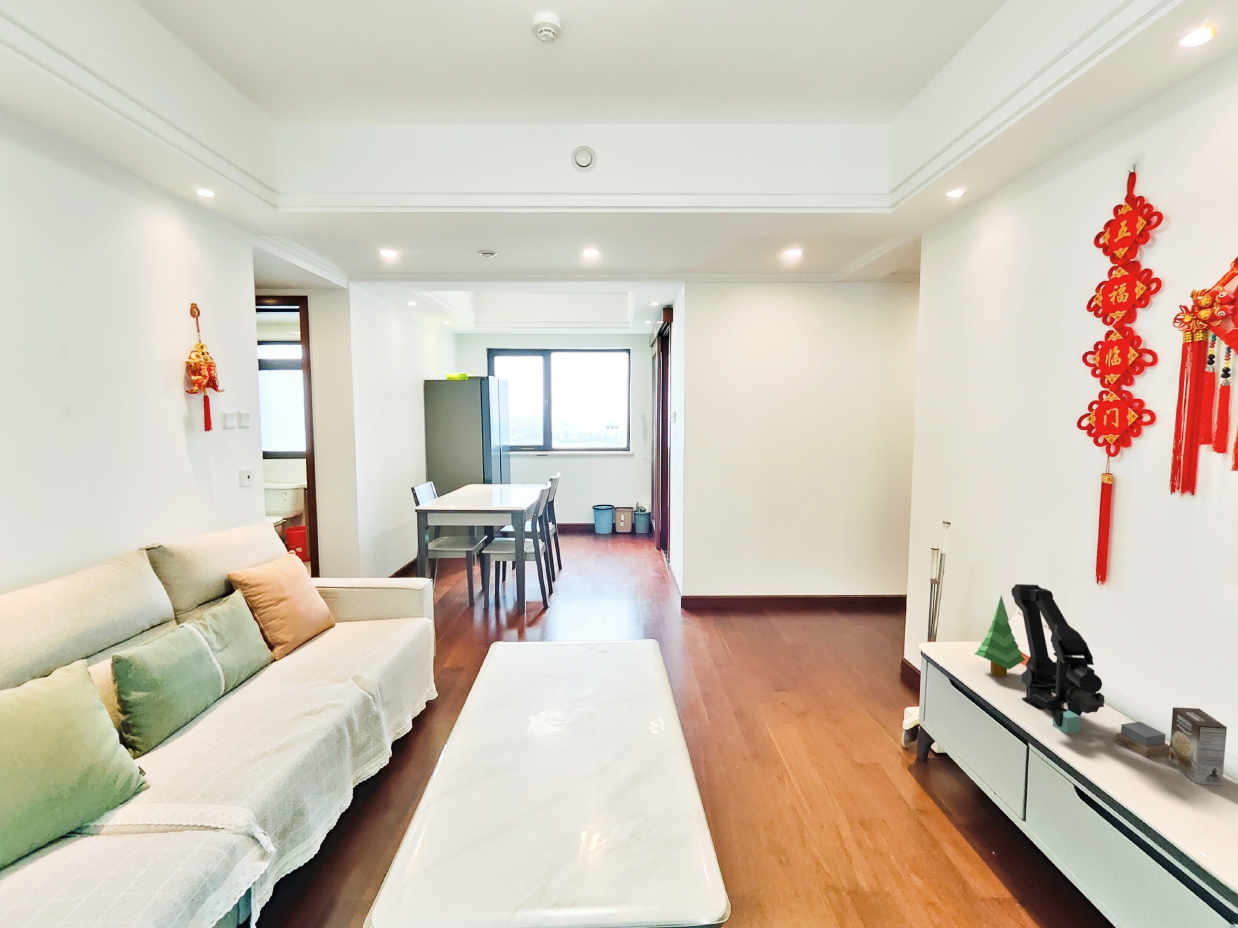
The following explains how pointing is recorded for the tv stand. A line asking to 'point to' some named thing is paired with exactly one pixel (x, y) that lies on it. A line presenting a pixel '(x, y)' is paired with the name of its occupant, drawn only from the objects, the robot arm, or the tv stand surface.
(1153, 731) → the charcoal middle block
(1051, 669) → the robot arm
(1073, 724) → the teal block
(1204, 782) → the coffee box
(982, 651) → the decorative tree
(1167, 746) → the walnut base block
